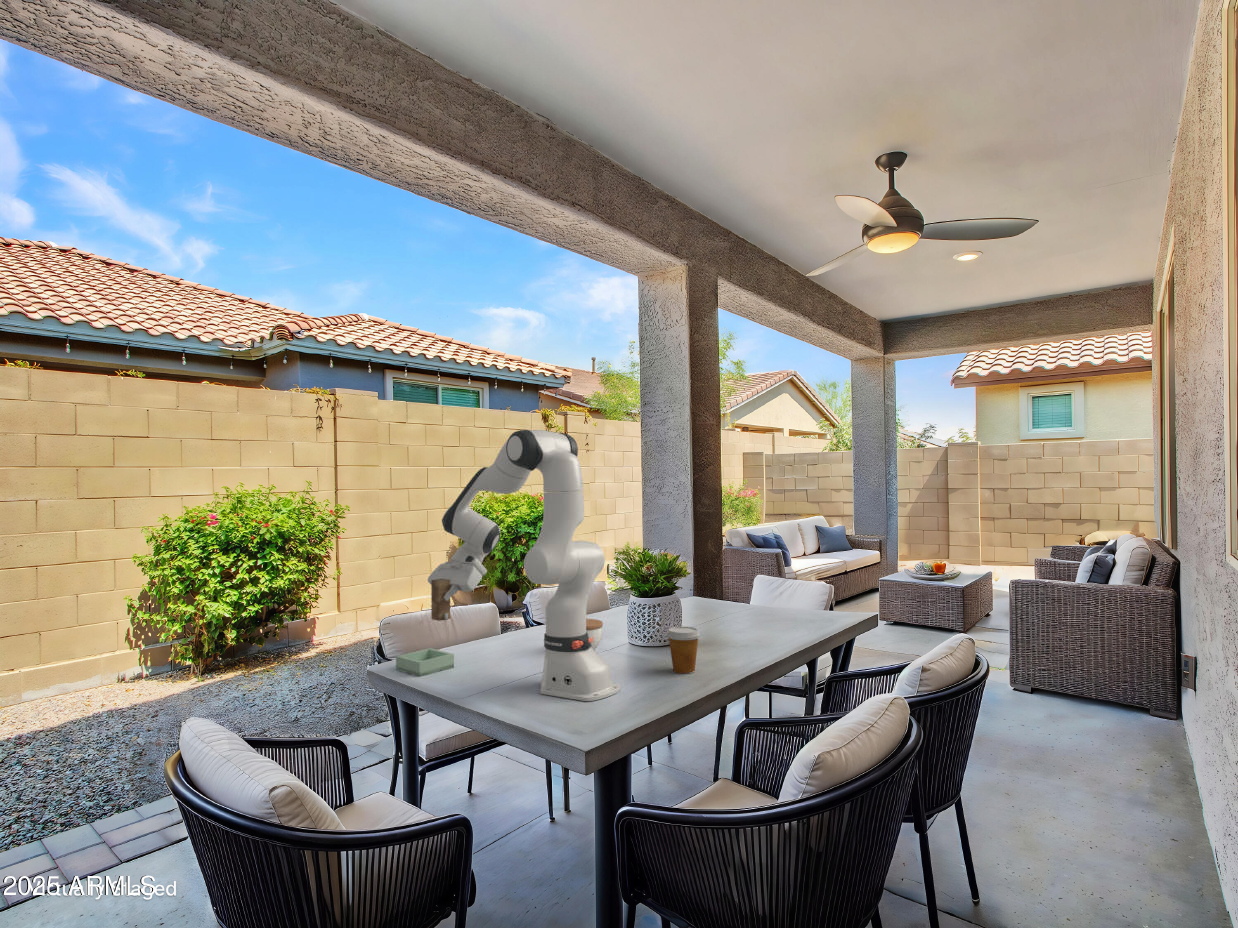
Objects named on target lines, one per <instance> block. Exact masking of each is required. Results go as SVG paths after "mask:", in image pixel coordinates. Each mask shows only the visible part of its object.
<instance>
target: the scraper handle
mask: <svg viewBox="0 0 1238 928" xmlns="http://www.w3.org/2000/svg"><path fill="white" fill-rule="evenodd" d="M449 582H450V580H449V579H436V580H431V584H430V586H431V587H430V589H431V591H430V592H431V593H430V594H431V598H430V599H431V604H430V605H431V607H430V608H431V615H430V616H431V620H433V621H438V622H440V621H448V620H451V598H450V599H449V600H448V601H446V600H443V598H442V596H443V594H444V593H447V592H448V591H449V590H450V584H449Z"/></svg>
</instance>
